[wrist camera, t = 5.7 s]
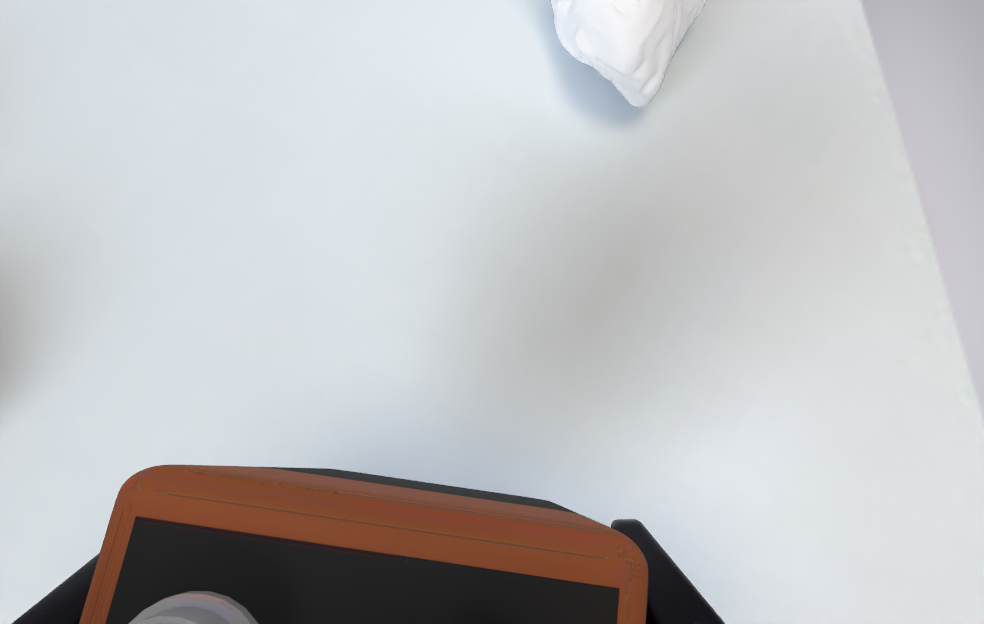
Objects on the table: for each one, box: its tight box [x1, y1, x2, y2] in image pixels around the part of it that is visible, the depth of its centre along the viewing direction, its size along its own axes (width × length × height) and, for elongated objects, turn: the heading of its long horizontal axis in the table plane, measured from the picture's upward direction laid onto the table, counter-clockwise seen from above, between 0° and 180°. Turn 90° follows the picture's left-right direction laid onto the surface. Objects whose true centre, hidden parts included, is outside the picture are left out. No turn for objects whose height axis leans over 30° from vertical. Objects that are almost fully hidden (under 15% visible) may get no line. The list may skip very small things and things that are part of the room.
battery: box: [79, 465, 648, 624], centre depth 11 cm, size 4×7×10 cm, turn 82°
